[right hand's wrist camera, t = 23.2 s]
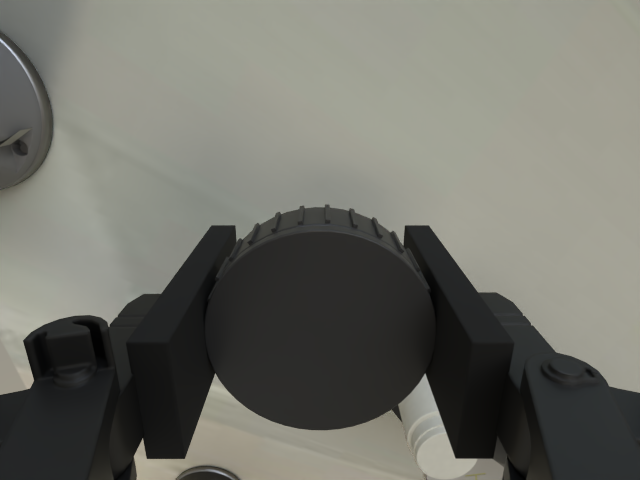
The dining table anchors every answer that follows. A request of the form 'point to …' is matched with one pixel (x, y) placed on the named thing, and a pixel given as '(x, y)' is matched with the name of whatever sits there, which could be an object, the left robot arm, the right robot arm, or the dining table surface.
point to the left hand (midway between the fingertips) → (389, 330)
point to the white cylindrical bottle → (430, 435)
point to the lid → (320, 320)
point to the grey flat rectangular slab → (481, 471)
